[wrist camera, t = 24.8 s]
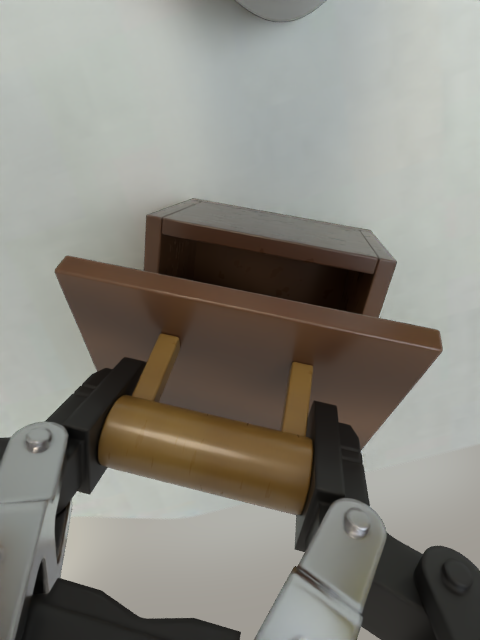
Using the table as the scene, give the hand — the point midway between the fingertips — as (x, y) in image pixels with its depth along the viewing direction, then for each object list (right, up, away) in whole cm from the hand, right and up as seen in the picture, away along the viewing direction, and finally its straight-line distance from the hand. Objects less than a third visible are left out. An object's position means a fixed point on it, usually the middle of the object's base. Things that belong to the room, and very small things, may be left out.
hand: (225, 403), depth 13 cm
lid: (0, -1, +4) cm, 4 cm away
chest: (+2, +3, +14) cm, 15 cm away
